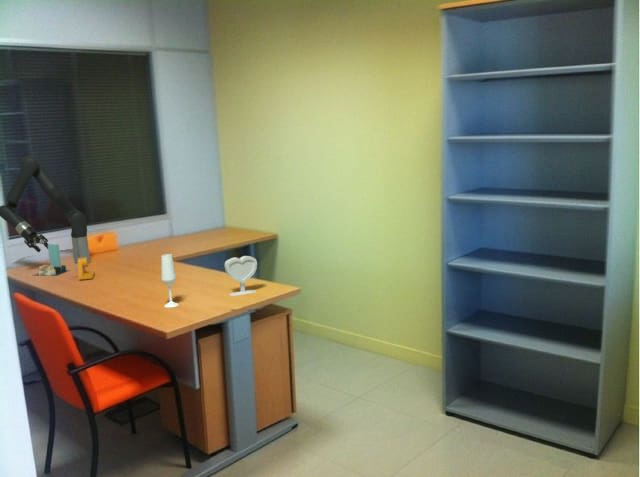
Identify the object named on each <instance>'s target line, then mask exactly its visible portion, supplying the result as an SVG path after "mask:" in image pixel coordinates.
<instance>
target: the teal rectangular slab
mask: <svg viewBox="0 0 640 477" xmlns="http://www.w3.org/2000/svg"><path fill="white" fill-rule="evenodd" d="M48 244H49V245H48V249H47V250H48V258H49V265H54V267H61V265H62V261H61V252H60V245H59V244H54V243H53V244H51V243H48Z"/></svg>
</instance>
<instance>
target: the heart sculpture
mask: <svg viewBox="0 0 640 477" xmlns="http://www.w3.org/2000/svg"><path fill="white" fill-rule="evenodd" d="M257 266H258V261H257V259H256V258H255V257H253V256H250V255H243V256H241V257H237V256H236V257H231V258H229V259H227V260H226V261H225V262H224V269H225V273H226V274H227V275H228V276H229V277H230V278H231V279H233V280H235V281H236V282H239V286H240V287H239V288H240V290H239V291H236V292H232V293H229V296H230V297H231V296H232V297H235V296H237V297H238V296H242V295H247V294H248V295H249V294H253V293H257V291H256V290H255V289H247V290H246V288H245V285H246V282H247V281H248V280H249V279H251V278H252V277H253V276H254V274H255V273H256V271H257V269H258V268H257Z"/></svg>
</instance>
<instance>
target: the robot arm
mask: <svg viewBox="0 0 640 477" xmlns="http://www.w3.org/2000/svg"><path fill="white" fill-rule="evenodd" d="M32 177H33V178H34V179H35V180H36V182H37V183H38V185H39V187H40V189H41V190H42V192H43V193H44V194H45V196H46V197H48V198H49V200H50V201H51V203H53V204H54V205H55V206H56V207H57V208H58V209H59V210H60V211H61V212H62V213H63V215H64V216H65V218H66V219H67V220H68V222H69V224H70V228H71V229H70V230H71V232H70V236H71V238H70V239H71V245H72V254H73V262H74V264H78V258H85V257H87V258H88V264H90V263H91V260H90V259H91V258H90V249H89V240H88V225H87V217H86V215H85V214H84V213H83V212H81V211H80V210H79V209H77V208H76V207H75V206H74V205H73V203H71V201H70V199H69V198H68V195H67V194H66V193H65V191H64V190H63V189H62V187H61V186H60V185H59V184H58V183H57V182H56V181H55V179H53V178H52V177H51V176H50V175H49V174H48V173H47V172H46V170H45V169H44V168H43V167H42V165H41V164H40V162H39V160H38V159H37V158H36V157H35V156H32V155H25V156H24V157H23V158H22V160H21V166H20V170H19V174H18V176H17V178H16V180H14V183H13V184H12V186H11V187H10V189H9V191H8V193H7V195H6V198H5V199H6V201H7V203H6V204H5V205H4V204H3V205H0V217H1V219H2V220H4V221H6V223H9V224H10V225H11V226H12V227H13V228H14V230H16V232H17V233H18V234H19V235H20V236H21V237H22V238H23V239H24V240H23V242H24V244H25V245H26V246H27V247H28V248H29V249H31V248H32V249H34V251H36V252H37V253H40V252H41V250H42V249H41V248H40V247H39V246H38V245H37V244H39V245H43V247H45V248H46V249H47V250H48V245H49V244H50V243H48V242H49V239H47V238H46V237H45V236H44V235H43V234H42V233H41V234H39V235H38V234H37V231H36V230H35V229H34V228H33V227H32V226H31V225H30V224H29V223H28V222H27V221H26V220H25V219H23V218H22V216H20V215H17V214H16V213H17V210H18V206H19V202H20V200H21V198H22V197H23V194H24V192H25V189H26V187H27V185H28V183H29V181H30V179H31V178H32Z"/></svg>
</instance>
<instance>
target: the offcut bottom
mask: <svg viewBox="0 0 640 477" xmlns="http://www.w3.org/2000/svg"><path fill="white" fill-rule="evenodd" d="M38 273H39V275H54V274H56V272H55V270H52V271H40V270H38Z"/></svg>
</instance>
